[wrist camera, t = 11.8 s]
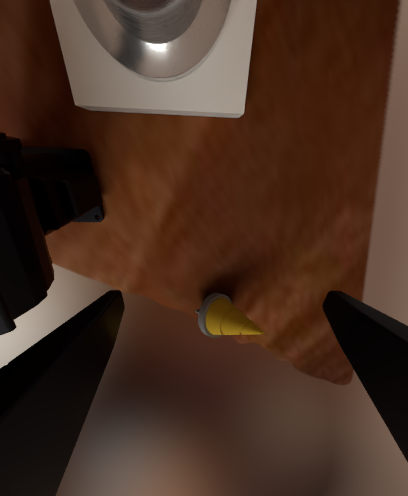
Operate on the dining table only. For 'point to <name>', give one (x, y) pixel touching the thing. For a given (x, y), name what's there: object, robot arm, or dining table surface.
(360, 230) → the dining table surface
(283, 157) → the dining table surface
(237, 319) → the yellow spiral cone
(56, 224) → the robot arm
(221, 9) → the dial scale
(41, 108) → the dining table surface
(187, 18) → the silver round piece
